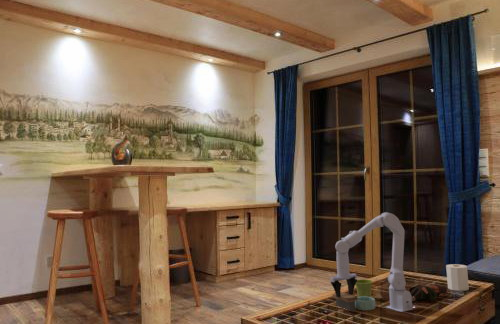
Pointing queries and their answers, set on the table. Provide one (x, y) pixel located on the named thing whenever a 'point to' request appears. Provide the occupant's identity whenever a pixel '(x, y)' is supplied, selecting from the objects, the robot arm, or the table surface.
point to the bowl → (365, 303)
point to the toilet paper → (457, 277)
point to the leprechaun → (427, 292)
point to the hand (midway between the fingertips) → (344, 295)
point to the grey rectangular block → (346, 305)
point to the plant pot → (364, 287)
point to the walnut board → (346, 297)
